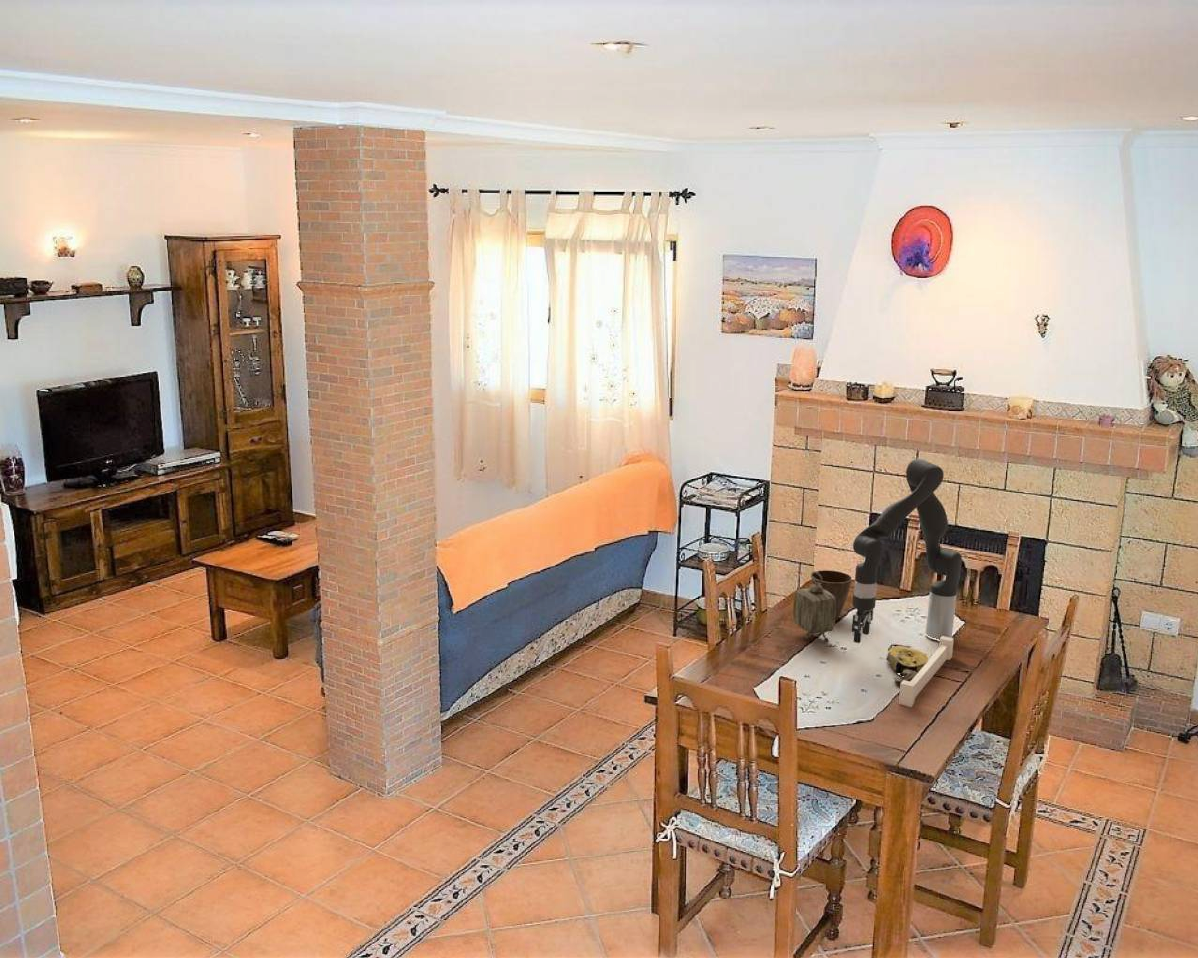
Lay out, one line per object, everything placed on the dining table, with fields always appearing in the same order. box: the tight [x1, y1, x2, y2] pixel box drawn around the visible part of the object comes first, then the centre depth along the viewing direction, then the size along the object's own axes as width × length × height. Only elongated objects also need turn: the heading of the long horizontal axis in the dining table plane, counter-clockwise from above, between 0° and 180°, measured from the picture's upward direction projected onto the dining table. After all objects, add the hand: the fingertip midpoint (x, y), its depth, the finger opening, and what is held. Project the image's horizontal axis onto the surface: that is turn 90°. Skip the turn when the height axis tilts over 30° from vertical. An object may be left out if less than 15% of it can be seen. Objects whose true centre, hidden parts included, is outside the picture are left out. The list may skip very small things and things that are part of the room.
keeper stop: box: [898, 636, 955, 708], centre depth 362 cm, size 48×4×7 cm, turn 148°
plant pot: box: [811, 570, 852, 620], centre depth 416 cm, size 15×15×16 cm
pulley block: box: [885, 643, 930, 686], centre depth 368 cm, size 14×6×30 cm
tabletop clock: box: [792, 570, 836, 643], centre depth 392 cm, size 14×9×25 cm, turn 22°
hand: (861, 638), depth 373 cm, fingers open, 8 cm apart
